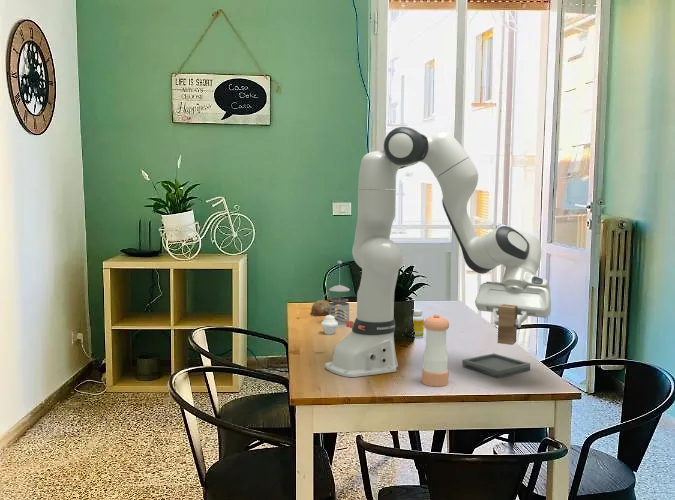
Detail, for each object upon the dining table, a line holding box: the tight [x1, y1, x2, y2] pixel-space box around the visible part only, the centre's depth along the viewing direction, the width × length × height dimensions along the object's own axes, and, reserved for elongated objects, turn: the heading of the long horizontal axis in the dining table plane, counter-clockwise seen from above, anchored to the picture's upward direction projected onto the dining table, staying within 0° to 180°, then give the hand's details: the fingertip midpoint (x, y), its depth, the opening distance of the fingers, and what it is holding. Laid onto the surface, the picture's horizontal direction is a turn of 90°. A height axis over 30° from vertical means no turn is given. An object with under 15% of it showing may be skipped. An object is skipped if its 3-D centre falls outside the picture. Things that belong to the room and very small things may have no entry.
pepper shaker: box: [421, 313, 450, 387], centre depth 180 cm, size 7×7×19 cm
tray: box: [461, 352, 531, 379], centre depth 196 cm, size 14×14×2 cm
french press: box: [321, 260, 350, 328], centre depth 252 cm, size 10×12×25 cm
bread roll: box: [310, 299, 336, 317], centre depth 272 cm, size 10×10×8 cm
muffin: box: [320, 315, 338, 335], centre depth 238 cm, size 6×6×7 cm
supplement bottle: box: [413, 308, 425, 339], centre depth 234 cm, size 5×5×10 cm
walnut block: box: [497, 304, 518, 346], centre depth 177 cm, size 4×4×10 cm
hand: (507, 325), depth 176 cm, fingers closed on walnut block, 4 cm apart
